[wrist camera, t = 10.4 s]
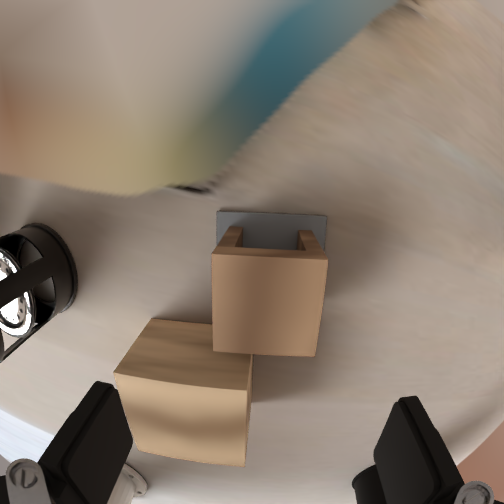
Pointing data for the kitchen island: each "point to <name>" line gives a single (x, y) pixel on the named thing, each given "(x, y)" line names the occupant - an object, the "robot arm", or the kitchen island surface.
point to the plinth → (186, 394)
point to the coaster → (271, 228)
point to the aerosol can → (369, 487)
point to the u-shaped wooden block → (267, 296)
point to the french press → (33, 282)
